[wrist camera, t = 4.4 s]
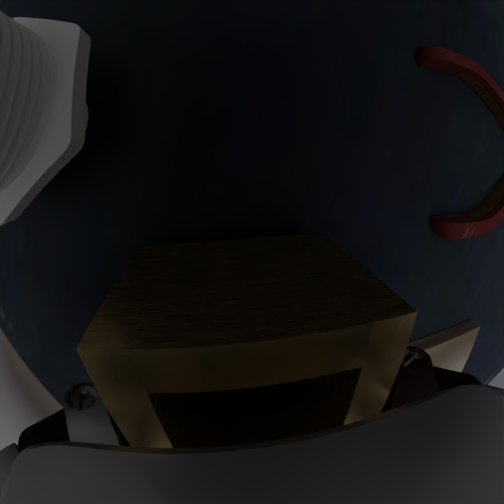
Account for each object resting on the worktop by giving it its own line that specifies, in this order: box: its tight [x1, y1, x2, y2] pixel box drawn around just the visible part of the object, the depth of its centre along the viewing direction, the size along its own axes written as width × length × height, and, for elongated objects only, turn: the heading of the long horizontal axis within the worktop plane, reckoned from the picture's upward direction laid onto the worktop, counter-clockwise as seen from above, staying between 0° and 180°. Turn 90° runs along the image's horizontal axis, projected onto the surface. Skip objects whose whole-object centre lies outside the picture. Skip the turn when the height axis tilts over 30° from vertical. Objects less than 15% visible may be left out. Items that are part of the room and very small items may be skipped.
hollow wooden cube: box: [76, 233, 417, 448], centre depth 9 cm, size 7×7×6 cm
